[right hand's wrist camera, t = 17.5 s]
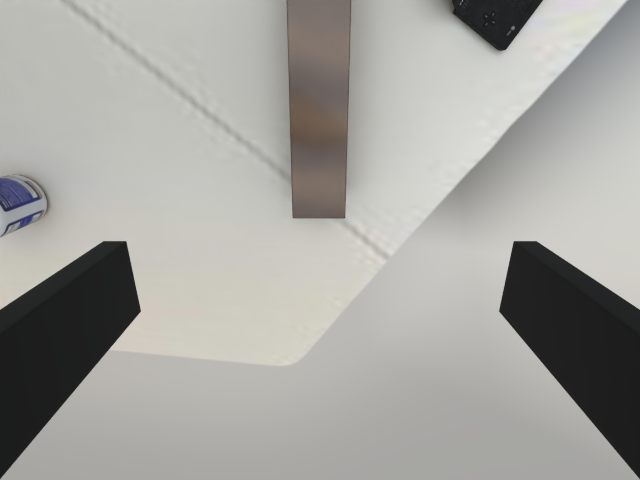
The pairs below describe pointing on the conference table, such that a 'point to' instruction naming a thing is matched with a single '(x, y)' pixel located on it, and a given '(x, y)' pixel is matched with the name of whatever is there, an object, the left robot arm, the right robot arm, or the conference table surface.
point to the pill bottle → (19, 203)
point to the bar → (318, 105)
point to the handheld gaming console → (496, 18)
